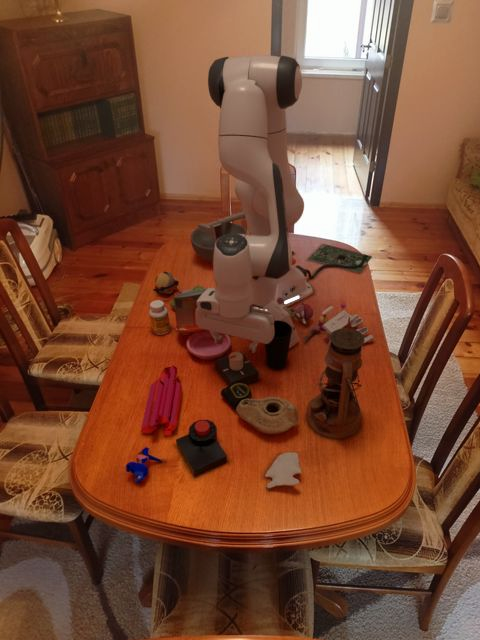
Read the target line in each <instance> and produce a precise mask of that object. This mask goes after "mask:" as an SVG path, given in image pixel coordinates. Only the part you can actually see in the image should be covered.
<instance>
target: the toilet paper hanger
mask: <svg viewBox="0 0 480 640" xmlns="http://www.w3.org/2000/svg"><path fill="white" fill-rule="evenodd" d="M241 219H245V215H244V212H243V209H241V210H240V212H238V213H234V214H231V215H228V216H225V217H221V218H218V219H216V220H214V221H211V222H208V223H203V222H200V223H198V224H197V228H199V231H201V232H204V233H206V234H209V235H210V236H211V237H212V240H213V242H214V243H216V241H217V239H218V238H220V237H221V236H223V235H224V232H223V224H226V223H233V222H235V221H238V220H241Z"/></svg>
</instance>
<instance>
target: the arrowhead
mask: <svg viewBox="0 0 480 640" xmlns="http://www.w3.org/2000/svg"><path fill="white" fill-rule="evenodd" d="M299 459H300V458H299V454H298V453H297V452H295V451H293V452H290V451H286V452H284V453H281V454H279V455H278V456H277V457H276V459H275V460H273V463H272V464H271V466H270V467H269V469H268V470H267V471H266V474H264V475H265V476H264V477H265V478H270V479H271V481H270V482H268V483H267V484H266V488H267V489H272V488H274V487H280V486H291V487H293V486H297V485H299V484H300V480H299V479H298V478H295V477H294V476H296V475H299V474H301V473H302V470H301V469H302V468H301V466H300V460H299Z"/></svg>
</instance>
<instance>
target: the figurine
mask: <svg viewBox="0 0 480 640" xmlns="http://www.w3.org/2000/svg"><path fill="white" fill-rule="evenodd" d="M149 449H150V448H149V447H147V446H145V447H144V448H142V449H141V451H139V452H137V454H136V455H135V457H136V458H135V459H136V461H130V462H127V463H126V465H125V471H126V473H131V474H132V475H133V477H134V478H135V484H141V482H143V481H144V480H145V479H146V477H147V476H148V475H149V467H148V466H147V465H146V463H147V462H148V460H150V461H154V462H159V463H163V461H162V460H161V459H160V458H158V457H155V456H154V455H152V454H149Z"/></svg>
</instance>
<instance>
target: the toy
mask: <svg viewBox="0 0 480 640" xmlns="http://www.w3.org/2000/svg"><path fill="white" fill-rule="evenodd" d="M179 284H180V281H179V280H178V279H177V278H176V277H175V278H174V275H173V273H171V272H170V271H167V270H164V271H163V272H160V273H158V275H156V277H155V280H154V288H153V289H152V290H153V292H159V293H163V294H166V295H170V294H172V293H174V290H175V289H178V286H179Z"/></svg>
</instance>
